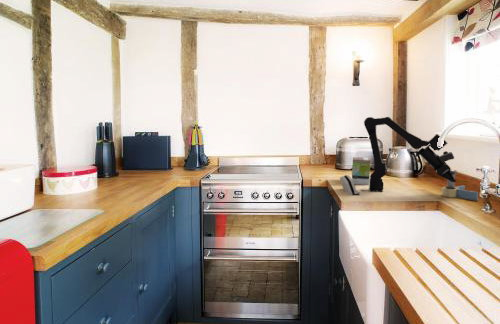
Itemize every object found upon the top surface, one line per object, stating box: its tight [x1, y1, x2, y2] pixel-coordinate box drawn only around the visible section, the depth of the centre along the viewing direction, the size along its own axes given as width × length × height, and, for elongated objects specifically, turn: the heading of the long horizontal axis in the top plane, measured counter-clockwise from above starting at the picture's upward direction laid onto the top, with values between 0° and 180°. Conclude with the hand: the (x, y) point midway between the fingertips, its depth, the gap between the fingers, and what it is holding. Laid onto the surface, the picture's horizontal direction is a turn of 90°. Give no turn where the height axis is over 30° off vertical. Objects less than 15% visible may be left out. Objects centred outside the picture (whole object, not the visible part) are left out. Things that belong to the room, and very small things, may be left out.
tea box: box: [351, 156, 371, 186], centre depth 223 cm, size 15×10×15 cm, turn 165°
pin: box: [446, 169, 457, 189], centre depth 186 cm, size 4×4×13 cm
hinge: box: [339, 174, 361, 196], centre depth 195 cm, size 17×5×10 cm, turn 178°
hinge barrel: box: [441, 184, 479, 202], centre depth 186 cm, size 13×19×4 cm
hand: (453, 180), depth 185 cm, fingers open, 9 cm apart
